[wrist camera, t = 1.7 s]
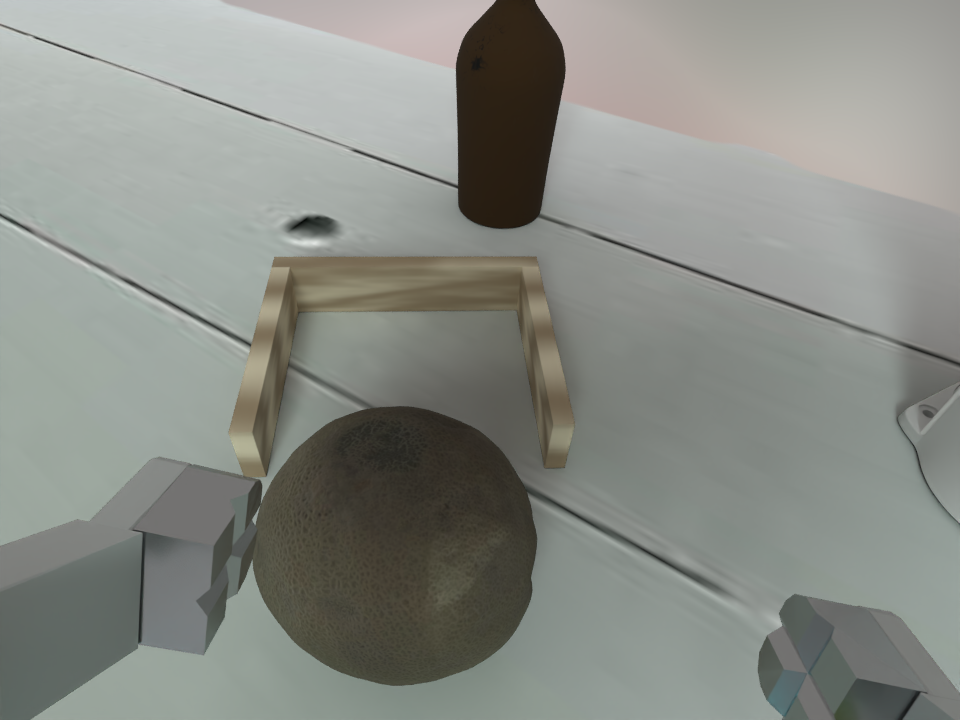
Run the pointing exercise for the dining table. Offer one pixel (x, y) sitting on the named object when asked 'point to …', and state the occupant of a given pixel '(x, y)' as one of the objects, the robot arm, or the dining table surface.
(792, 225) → the dining table surface
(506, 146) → the olive oil
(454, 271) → the box
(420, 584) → the cantaloupe
